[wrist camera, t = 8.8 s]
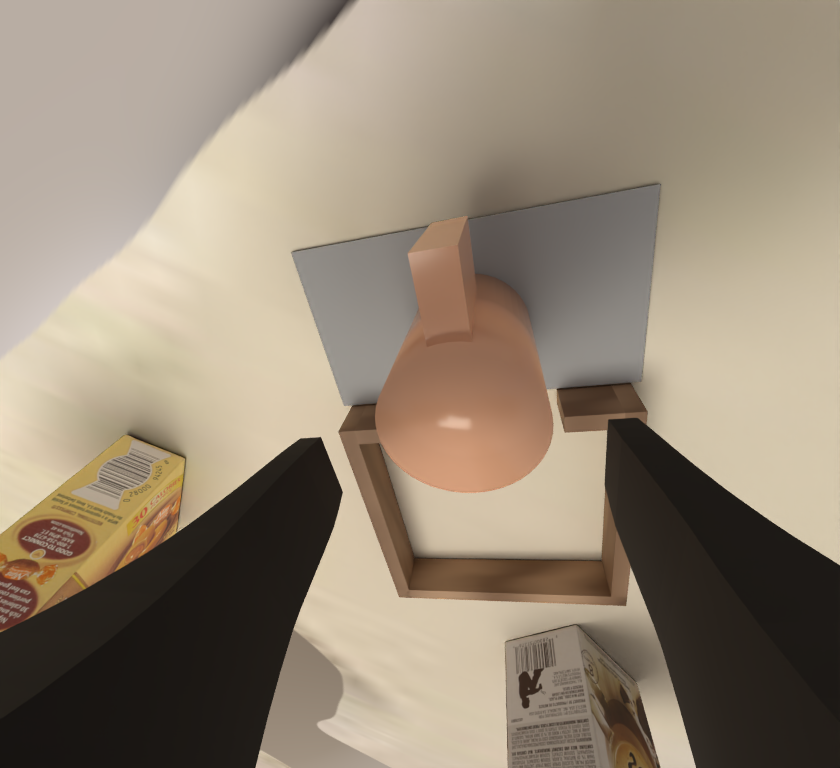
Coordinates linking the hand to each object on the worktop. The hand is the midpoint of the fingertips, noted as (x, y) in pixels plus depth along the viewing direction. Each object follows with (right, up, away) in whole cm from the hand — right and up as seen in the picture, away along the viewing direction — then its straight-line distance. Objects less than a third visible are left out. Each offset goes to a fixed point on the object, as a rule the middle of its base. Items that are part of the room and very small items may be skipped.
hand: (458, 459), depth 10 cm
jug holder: (+3, -4, +12) cm, 13 cm away
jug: (+1, +5, +6) cm, 8 cm away
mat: (+1, +5, +7) cm, 8 cm away
